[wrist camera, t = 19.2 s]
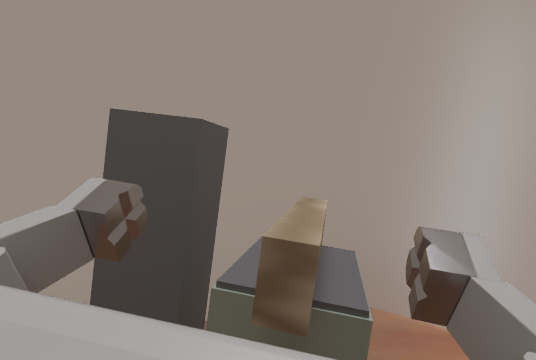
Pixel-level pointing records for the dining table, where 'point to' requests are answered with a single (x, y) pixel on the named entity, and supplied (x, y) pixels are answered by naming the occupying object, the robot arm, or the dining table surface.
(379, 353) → the dining table surface
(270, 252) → the bar
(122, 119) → the pedestal
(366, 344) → the grey block
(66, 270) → the robot arm
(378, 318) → the dining table surface
